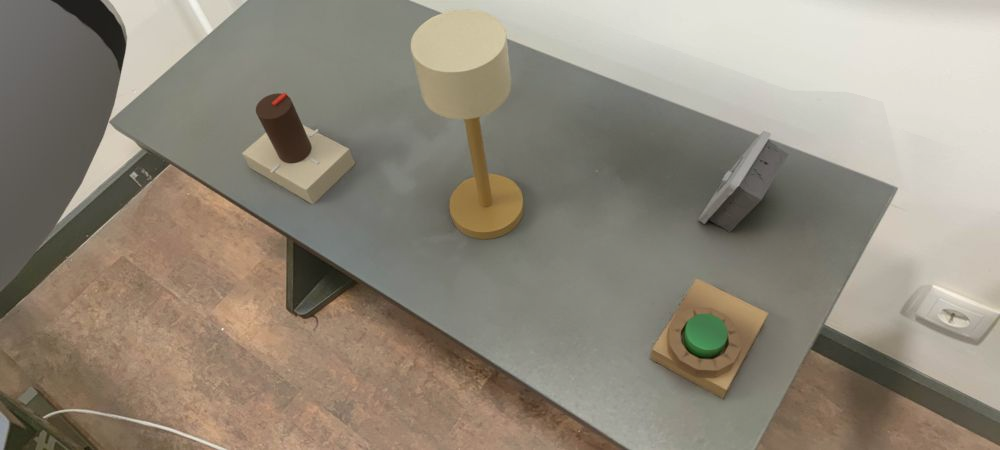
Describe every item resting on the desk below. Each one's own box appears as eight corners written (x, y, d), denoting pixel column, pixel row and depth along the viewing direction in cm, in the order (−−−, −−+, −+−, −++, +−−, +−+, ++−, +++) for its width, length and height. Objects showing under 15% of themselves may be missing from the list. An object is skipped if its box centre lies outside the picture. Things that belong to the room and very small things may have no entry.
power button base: (721, 402, 69) (727, 386, 66) (648, 362, 72) (651, 344, 69) (764, 323, 74) (772, 304, 70) (693, 288, 77) (698, 268, 74)
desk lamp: (495, 251, 82) (467, 84, 61) (436, 219, 86) (390, 51, 65) (538, 199, 86) (525, 27, 65) (479, 171, 90) (449, -1, 69)
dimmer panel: (311, 206, 89) (303, 190, 86) (248, 169, 94) (239, 153, 91) (356, 162, 93) (350, 146, 90) (294, 129, 97) (286, 113, 95)
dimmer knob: (294, 168, 89) (271, 121, 82) (271, 155, 90) (246, 108, 84) (318, 146, 91) (298, 99, 84) (295, 133, 92) (273, 86, 86)
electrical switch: (729, 171, 86) (751, 120, 78) (769, 190, 84) (795, 141, 77) (695, 224, 82) (715, 176, 74) (736, 245, 80) (761, 198, 72)
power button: (714, 365, 67) (717, 357, 66) (676, 345, 69) (678, 336, 68) (731, 334, 69) (735, 325, 68) (694, 315, 71) (696, 306, 69)
